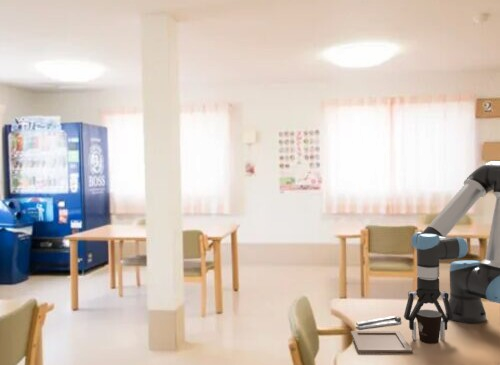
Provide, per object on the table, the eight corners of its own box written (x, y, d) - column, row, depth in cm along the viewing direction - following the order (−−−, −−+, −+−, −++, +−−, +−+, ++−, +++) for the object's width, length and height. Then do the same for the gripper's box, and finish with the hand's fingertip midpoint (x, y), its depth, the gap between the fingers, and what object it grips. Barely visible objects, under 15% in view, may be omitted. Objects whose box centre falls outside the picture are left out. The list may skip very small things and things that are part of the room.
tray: (399, 334, 179) (399, 330, 178) (412, 353, 161) (412, 350, 161) (350, 333, 180) (350, 330, 180) (358, 353, 162) (358, 349, 162)
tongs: (396, 319, 195) (396, 315, 194) (403, 323, 190) (403, 318, 190) (353, 324, 189) (353, 320, 189) (360, 329, 184) (359, 324, 184)
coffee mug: (444, 346, 166) (444, 317, 166) (418, 344, 168) (418, 316, 168) (438, 333, 178) (437, 307, 177) (413, 332, 179) (413, 306, 179)
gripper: (455, 274, 175) (455, 334, 176) (394, 274, 176) (394, 334, 177) (463, 279, 167) (463, 342, 168) (399, 280, 169) (399, 342, 170)
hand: (428, 338), depth 173 cm, fingers open, 9 cm apart
